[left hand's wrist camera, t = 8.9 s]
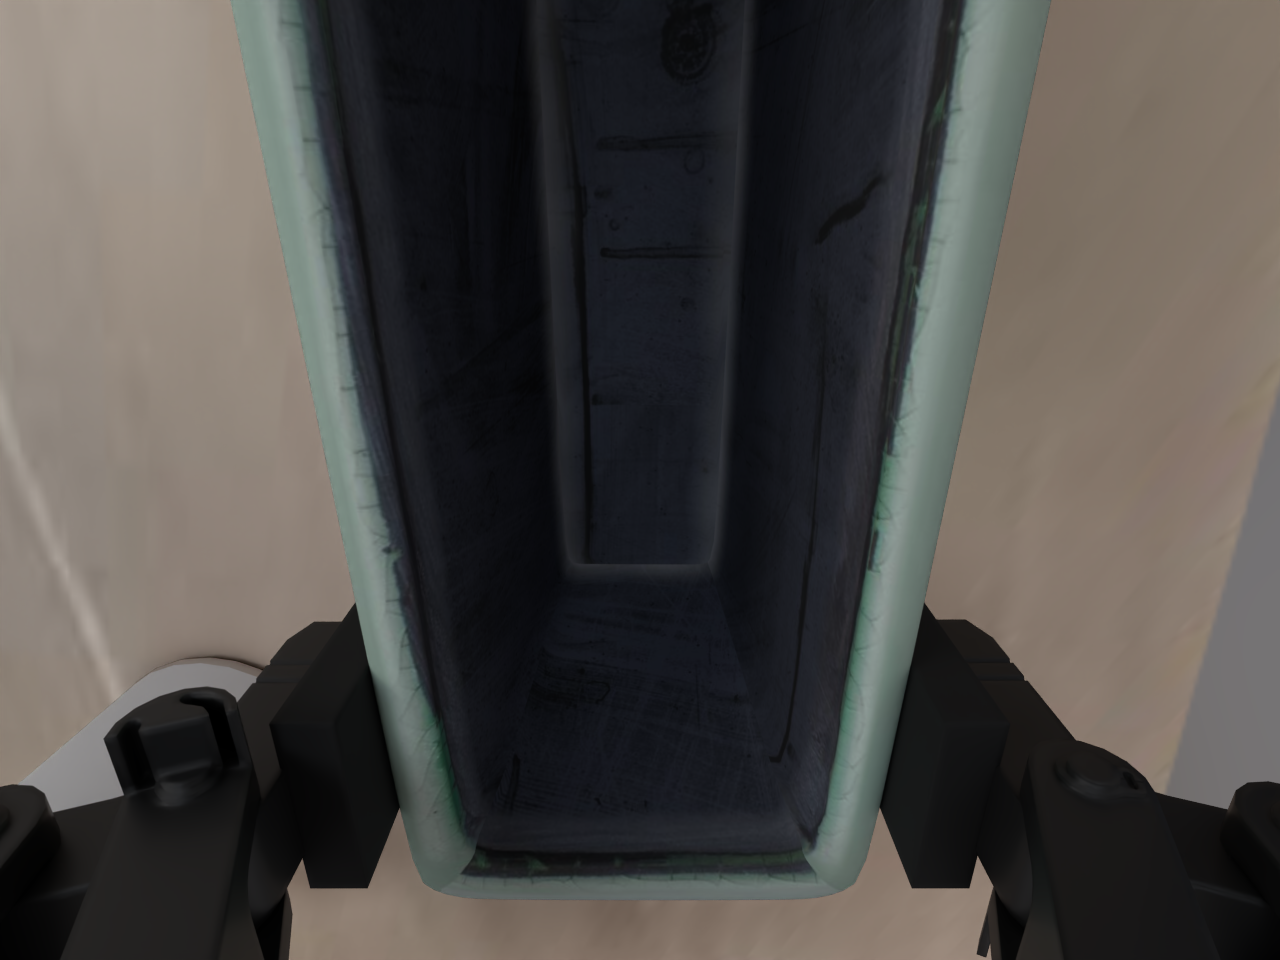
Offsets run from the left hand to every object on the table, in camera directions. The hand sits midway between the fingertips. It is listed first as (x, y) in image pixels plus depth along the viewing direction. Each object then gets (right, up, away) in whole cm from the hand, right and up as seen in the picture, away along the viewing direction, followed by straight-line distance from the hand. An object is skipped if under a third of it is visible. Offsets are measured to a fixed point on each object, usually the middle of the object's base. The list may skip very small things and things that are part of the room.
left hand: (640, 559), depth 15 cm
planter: (0, +10, -3) cm, 11 cm away
